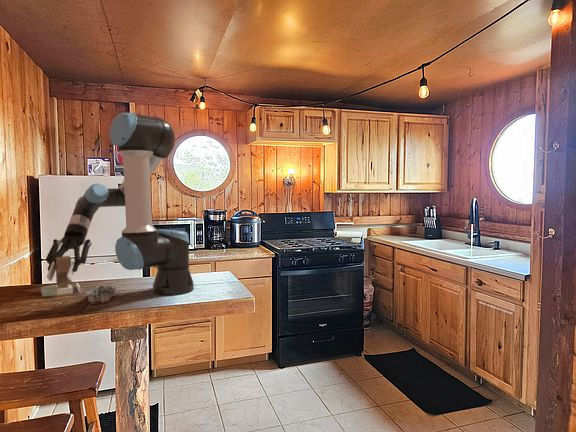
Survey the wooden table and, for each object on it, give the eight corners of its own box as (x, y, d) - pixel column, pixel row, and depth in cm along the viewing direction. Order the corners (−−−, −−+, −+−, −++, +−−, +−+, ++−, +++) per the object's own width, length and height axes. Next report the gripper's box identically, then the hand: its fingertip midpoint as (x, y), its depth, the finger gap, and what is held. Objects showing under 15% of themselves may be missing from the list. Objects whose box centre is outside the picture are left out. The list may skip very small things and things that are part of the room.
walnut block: (71, 284, 146) (70, 257, 145) (57, 286, 143) (56, 258, 143) (70, 282, 150) (69, 255, 149) (56, 283, 147) (55, 257, 146)
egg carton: (107, 303, 135) (106, 291, 135) (84, 303, 134) (84, 291, 134) (118, 294, 146) (118, 283, 145) (97, 294, 145) (97, 283, 145)
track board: (80, 292, 147) (80, 286, 147) (42, 296, 140) (42, 291, 140) (77, 287, 153) (77, 282, 152) (41, 292, 146) (41, 287, 145)
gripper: (105, 234, 161) (89, 283, 146) (56, 234, 160) (35, 284, 145) (99, 222, 156) (83, 272, 141) (48, 222, 154) (26, 273, 139)
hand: (59, 278), depth 143 cm, fingers closed on walnut block, 6 cm apart
